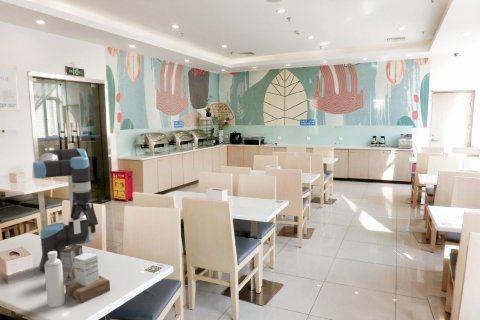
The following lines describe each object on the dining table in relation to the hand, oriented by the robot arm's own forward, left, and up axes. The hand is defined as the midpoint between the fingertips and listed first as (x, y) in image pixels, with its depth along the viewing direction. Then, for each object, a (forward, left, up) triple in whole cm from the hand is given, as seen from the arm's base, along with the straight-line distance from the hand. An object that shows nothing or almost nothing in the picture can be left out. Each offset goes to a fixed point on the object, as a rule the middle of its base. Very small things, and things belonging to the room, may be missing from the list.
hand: (84, 236), depth 158 cm
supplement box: (0, 0, -22) cm, 22 cm away
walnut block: (+1, -1, -27) cm, 27 cm away
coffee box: (-19, +2, -27) cm, 33 cm away
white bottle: (-1, -14, -27) cm, 30 cm away
